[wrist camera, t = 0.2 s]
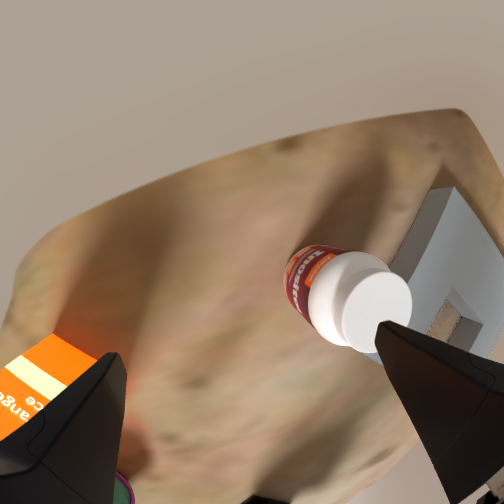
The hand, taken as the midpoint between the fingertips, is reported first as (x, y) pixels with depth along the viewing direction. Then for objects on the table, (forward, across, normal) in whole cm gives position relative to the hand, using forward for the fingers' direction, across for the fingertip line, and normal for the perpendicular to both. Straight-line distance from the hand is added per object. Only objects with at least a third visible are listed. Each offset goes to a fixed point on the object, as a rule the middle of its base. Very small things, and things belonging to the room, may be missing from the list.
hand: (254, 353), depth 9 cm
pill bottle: (+15, -7, +5) cm, 17 cm away
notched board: (+13, -24, +10) cm, 29 cm away
